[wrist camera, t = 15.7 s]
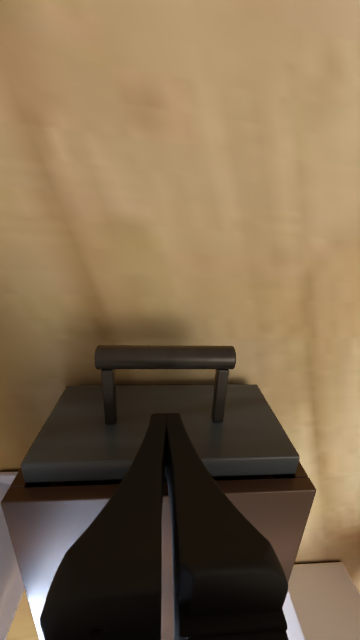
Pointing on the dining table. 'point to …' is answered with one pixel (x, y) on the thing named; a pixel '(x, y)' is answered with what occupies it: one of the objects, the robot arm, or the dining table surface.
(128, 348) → the drawer
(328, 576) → the milk carton
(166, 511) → the cabinet
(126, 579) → the robot arm
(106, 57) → the dining table surface
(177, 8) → the dining table surface
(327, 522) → the dining table surface
